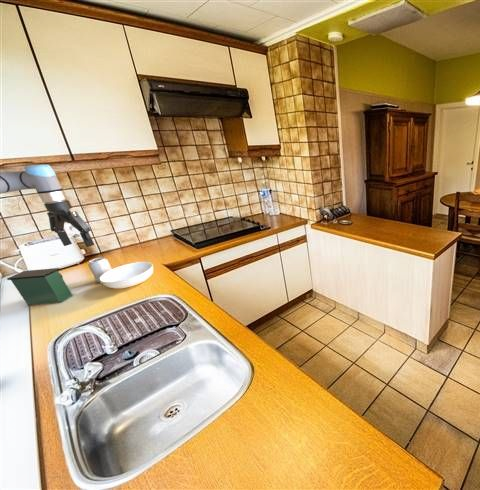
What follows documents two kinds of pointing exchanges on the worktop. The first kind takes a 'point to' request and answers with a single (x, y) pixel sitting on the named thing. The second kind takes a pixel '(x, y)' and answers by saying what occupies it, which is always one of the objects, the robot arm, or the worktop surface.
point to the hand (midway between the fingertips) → (79, 245)
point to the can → (99, 267)
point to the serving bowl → (127, 275)
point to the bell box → (41, 286)
